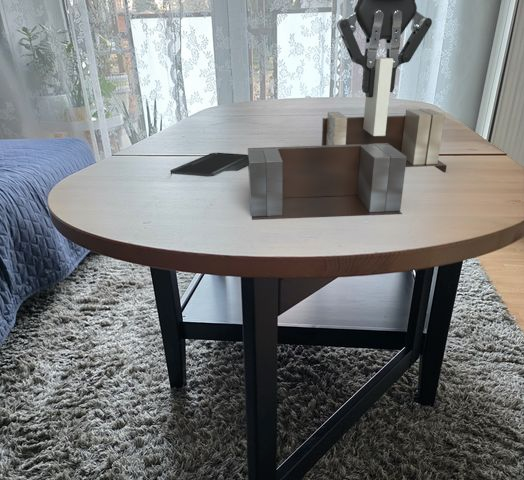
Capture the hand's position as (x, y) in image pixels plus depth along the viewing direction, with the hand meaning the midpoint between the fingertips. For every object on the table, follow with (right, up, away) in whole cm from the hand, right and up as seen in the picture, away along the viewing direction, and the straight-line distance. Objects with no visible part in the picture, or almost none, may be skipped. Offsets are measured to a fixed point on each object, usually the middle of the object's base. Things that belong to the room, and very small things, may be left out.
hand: (377, 96), depth 76 cm
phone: (-25, -9, +7) cm, 28 cm away
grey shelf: (-10, -21, -14) cm, 28 cm away
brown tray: (+2, -9, +6) cm, 10 cm away
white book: (0, -4, +3) cm, 5 cm away
